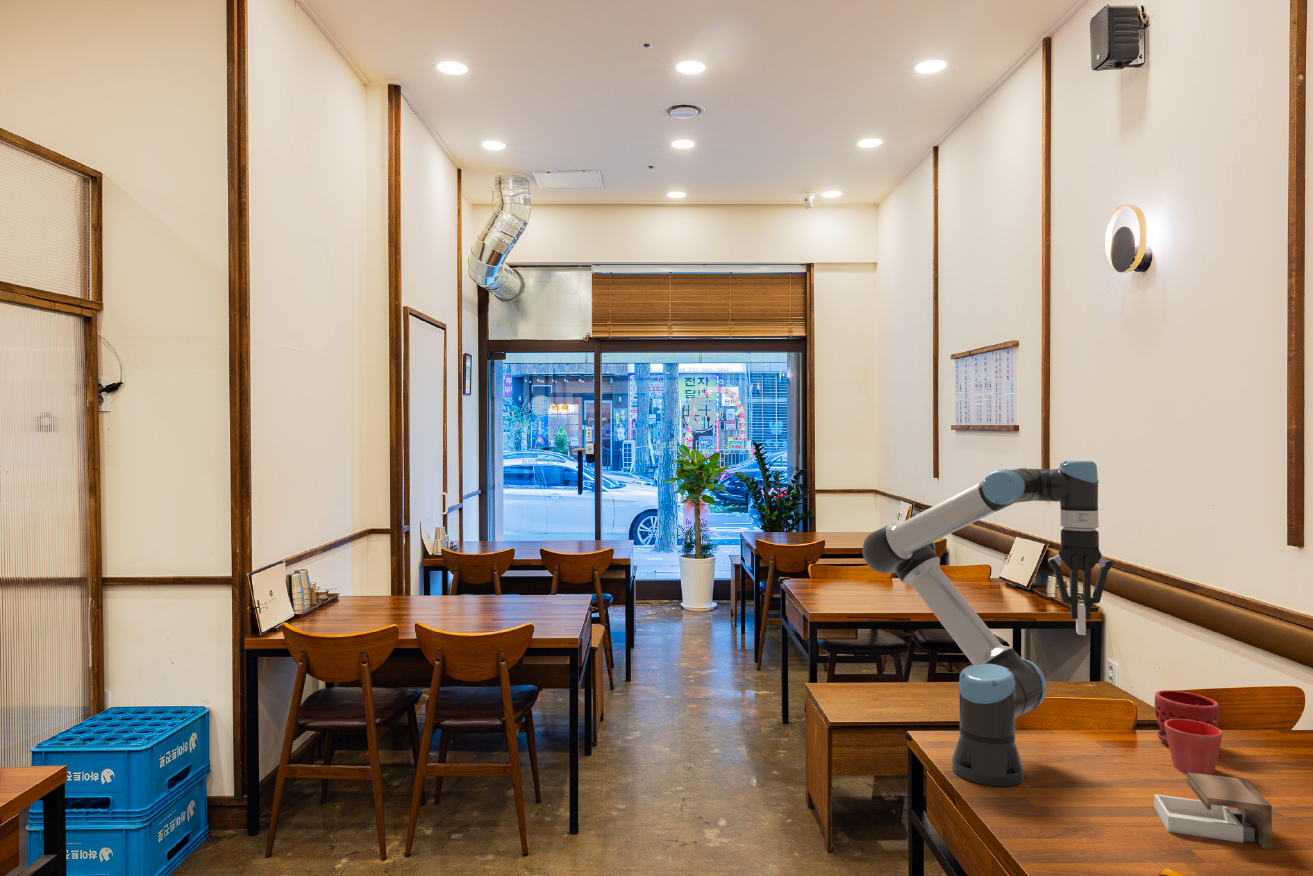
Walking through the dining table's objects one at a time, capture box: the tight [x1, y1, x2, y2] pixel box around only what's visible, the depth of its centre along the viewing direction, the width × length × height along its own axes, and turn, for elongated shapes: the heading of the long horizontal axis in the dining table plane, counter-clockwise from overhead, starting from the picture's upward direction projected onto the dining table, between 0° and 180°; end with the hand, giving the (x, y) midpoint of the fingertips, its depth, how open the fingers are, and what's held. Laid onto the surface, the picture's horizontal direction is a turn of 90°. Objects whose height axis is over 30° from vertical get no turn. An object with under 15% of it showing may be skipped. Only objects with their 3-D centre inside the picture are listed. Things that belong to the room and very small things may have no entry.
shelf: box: [1186, 772, 1273, 850], centre depth 147 cm, size 10×12×8 cm
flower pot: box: [1165, 719, 1223, 775], centre depth 175 cm, size 11×11×10 cm
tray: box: [1153, 793, 1244, 844], centre depth 149 cm, size 12×10×3 cm
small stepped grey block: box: [1228, 808, 1256, 843], centre depth 147 cm, size 2×8×2 cm, turn 160°
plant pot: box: [1154, 689, 1220, 746], centre depth 189 cm, size 13×13×12 cm
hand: (1080, 633), depth 171 cm, fingers closed
